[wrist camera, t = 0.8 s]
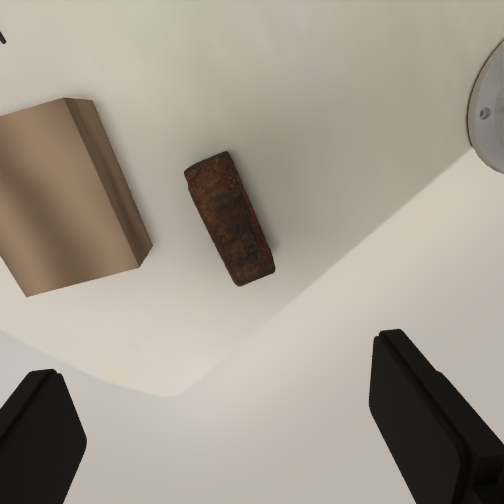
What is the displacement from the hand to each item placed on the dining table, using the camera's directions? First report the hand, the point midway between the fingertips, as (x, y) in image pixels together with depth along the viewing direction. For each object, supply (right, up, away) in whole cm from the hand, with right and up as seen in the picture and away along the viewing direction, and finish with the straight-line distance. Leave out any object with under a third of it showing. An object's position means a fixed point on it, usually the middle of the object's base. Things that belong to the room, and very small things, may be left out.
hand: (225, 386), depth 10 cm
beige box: (-15, +9, +19) cm, 26 cm away
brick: (-1, +8, +21) cm, 22 cm away
